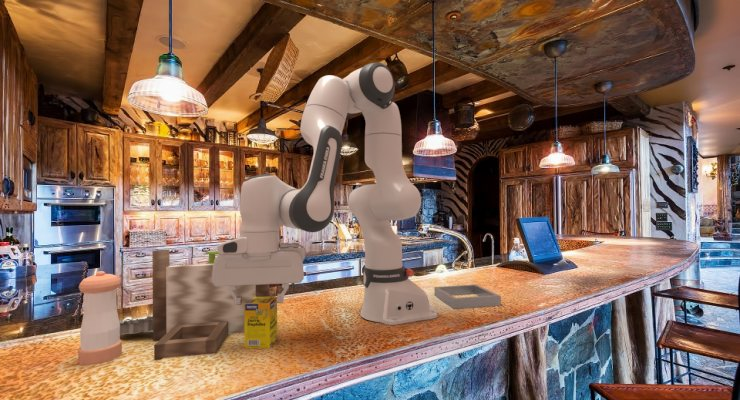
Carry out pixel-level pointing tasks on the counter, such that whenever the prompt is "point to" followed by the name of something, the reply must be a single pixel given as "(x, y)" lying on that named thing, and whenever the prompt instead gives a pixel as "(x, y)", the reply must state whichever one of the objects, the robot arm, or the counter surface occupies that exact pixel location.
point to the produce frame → (481, 300)
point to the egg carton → (136, 325)
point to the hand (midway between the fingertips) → (259, 303)
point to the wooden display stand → (194, 308)
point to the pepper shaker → (99, 320)
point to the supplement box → (260, 322)
